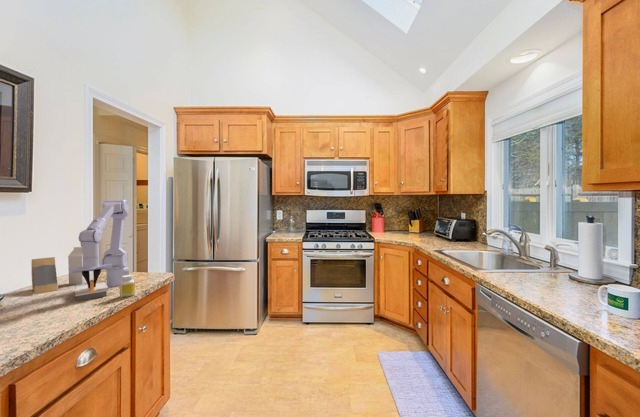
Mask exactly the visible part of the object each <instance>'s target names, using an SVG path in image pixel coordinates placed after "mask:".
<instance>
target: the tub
mask: <svg viewBox="0 0 640 417" xmlns="http://www.w3.org/2000/svg"><path fill="white" fill-rule="evenodd" d="M107 292H108V291H104V292H98V293H92V294H86V295H80V296H76V301H77V302H81V301H85V300H92V299H96V298H104V297H107V296H108V295H107Z"/></svg>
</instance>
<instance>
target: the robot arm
mask: <svg viewBox="0 0 640 417" xmlns="http://www.w3.org/2000/svg"><path fill="white" fill-rule="evenodd" d="M101 206H102V210H101V211H100V213H99V216H98V217H96V218H93V220H91V222H90V224H89V225H88V226H87V227H86V229H83V230H81V231H80V232H79V235H78V241H79V243H80V247H82V252H83V267H79V268H73V269H69V268H68V273H69V272H70V274H73V273H80V272H82V275H83V276H84V278H85V280H86V282H87V284H88V288H90V274H89V271H93V281H94V287H96V282H98V279H99V277H100V274H102V273H101V272H102V271H103V270H105V272H106V284H107V286H108V289H109V288H115V287H120V282H121V281H122V276H124V275H130V270H129V267H128V266H127V265H128V263H129V258H128V252H127V251H126V250H124V249H123V241H124V240H123V239H124V231H125V224H126V223H125V222H126V217H128V216H129V212H130V211H129V210H130V204H129V201H128V200H127V199H104V200H103V201H102V204H101ZM110 218H112V219H113V220H112V227H111V228H112V229H111V236H110V242H109V243H110V245H109V249H108V250H106V251H104V252H103V257H102V259H101V264H100V242H101V241H102V238H103V235H104V233H103V232H104V230H105V229H106V227H107V226H108V222H107V221H108V220H109V219H110Z"/></svg>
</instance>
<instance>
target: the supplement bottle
mask: <svg viewBox="0 0 640 417" xmlns="http://www.w3.org/2000/svg"><path fill="white" fill-rule="evenodd" d="M133 276H134V275H133V274H129V275H124V276H122V281H121V282H120V286H119V298H120V299H123V300H124V299H125V300H126V299H130V298H133V297H135V294H136V293H135V292H136V291H135V287H136V286H135V280H134V279H133Z"/></svg>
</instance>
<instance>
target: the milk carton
mask: <svg viewBox="0 0 640 417" xmlns="http://www.w3.org/2000/svg"><path fill="white" fill-rule="evenodd" d="M67 256H68V257H67V260H68V263H67V264H68V270H69V269H73V268H79V267H83V252H82V247H81V246H78V247H77V246H73V250H72V251H71V252H70V253H69V254H68V255H67ZM89 274H90V280H92V279H93V280H94V275H93V271H89ZM86 283H87V282H86V280H85V278H84V276H83V275H82V272H80V273H73V274H70V272H69V271H68V285H71V286H72V285H74V286H75V285H79V284H86Z"/></svg>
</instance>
